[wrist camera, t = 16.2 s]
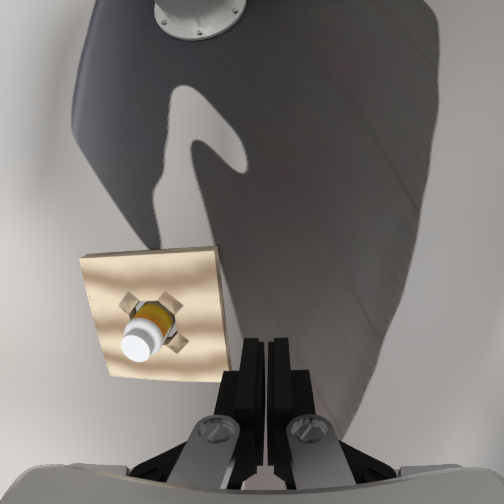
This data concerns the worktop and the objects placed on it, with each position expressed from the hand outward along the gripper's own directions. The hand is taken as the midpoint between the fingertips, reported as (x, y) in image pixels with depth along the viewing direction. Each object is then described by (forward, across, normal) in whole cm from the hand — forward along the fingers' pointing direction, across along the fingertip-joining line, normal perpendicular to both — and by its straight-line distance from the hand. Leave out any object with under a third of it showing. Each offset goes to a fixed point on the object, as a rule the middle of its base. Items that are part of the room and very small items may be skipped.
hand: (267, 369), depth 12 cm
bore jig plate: (+30, +16, +14) cm, 37 cm away
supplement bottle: (+30, +16, +13) cm, 37 cm away
